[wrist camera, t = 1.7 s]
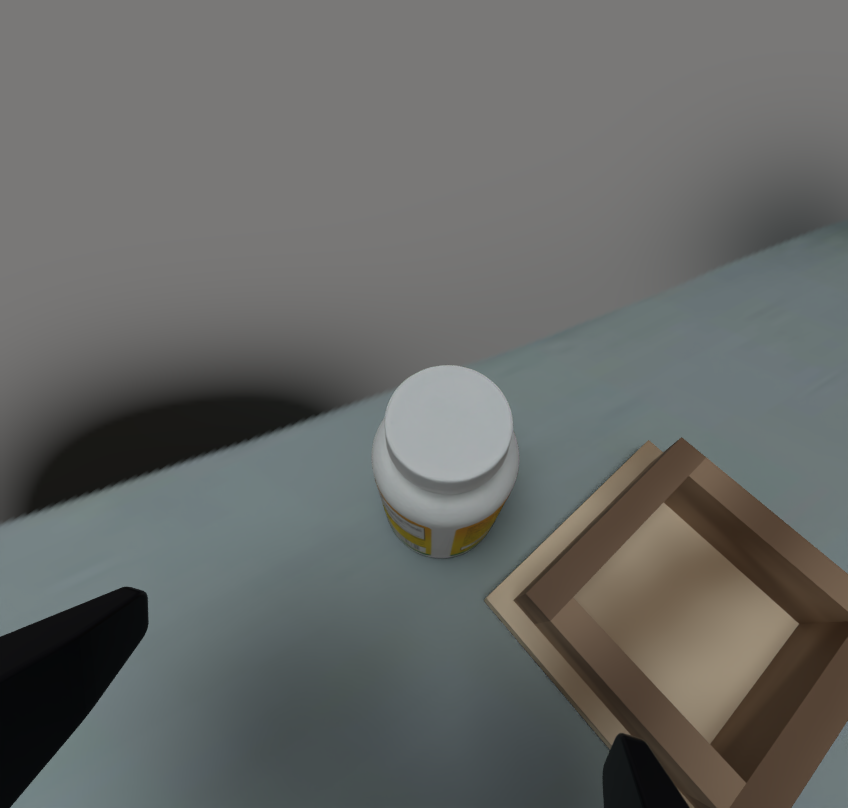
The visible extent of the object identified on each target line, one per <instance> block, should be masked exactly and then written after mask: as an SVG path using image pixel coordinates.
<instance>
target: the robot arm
mask: <svg viewBox="0 0 848 808" xmlns="http://www.w3.org/2000/svg"><path fill="white" fill-rule="evenodd" d="M147 628H148V597H147V594H146V592H144V591H142V590H139V589H135V588H132V587H122V588H119V589H117V590H115V591H112V592H110V593H107V594H105V595H102V596H100V597H97V598H95V599H92V600H90V601H87V602H85V603H82V604H80V605H78V606H75V607H73V608H70V609H68V610H65V611H63V612H60V613H58V614H55V615H53V616H50V617H48V618H46V619H43V620H41V621H38V622H36V623H33V624H31V625H28V626H26V627H23V628H21V629H18V630H16V631H14V632H11V633H9V634H6V635H4V636H1V637H0V808H10V807H11V806H12V805H13V803H14V802H15V801H16V800H17V799H18V798H19V796H20V795H21V794H22V793H23V792H24V790H25V789H26V788H27V787H28V786H29V784H30V783H31V782H32V781H33V780H34V779H35V777H36V776H37V775H38V774H39V773H40V771H41V770H42V769H43V768H44V767H45V765H46V764H47V763H48V762H49V761H50V760H51V758H52V757H53V756H54V755H55V754H56V752H57V751H58V750H59V749H60V748H61V747H62V745H63V744H64V743H65V742H66V741H67V739H68V738H69V737H70V736H71V735H72V733H73V732H74V731H75V730H76V729H77V727H78V726H79V725H80V724H81V723H82V721H83V720H84V719H85V718H86V716H87V715H88V714H89V712H90V711H91V710H92V708H93V707H94V706H95V704H96V703H97V702H98V700H99V699H100V698H101V696H102V695H103V693H104V692H105V691H106V689H107V688H108V686H109V685H110V683H111V682H112V681H113V679H114V678H115V676H116V675H117V674H118V672H119V671H120V669H121V668H122V667H123V665H124V664H125V662H126V661H127V660H128V658H129V657H130V655H131V654H132V653H133V651H134V650H135V648H136V647H137V646H138V644H139V643H140V641H141V640H142V638H143V637H144V635H145V633H146V631H147ZM603 798H604V808H690V807H689V805H688V804H687V802H686V801H685V799H684V798H683V796H682V795H681V793H680V792H679V790H678V789H677V787H676V786H675V784H674V783H673V781H672V780H671V778H670V777H669V775H668V774H667V772H666V771H665V769H664V768H663V766H662V765H661V763H660V762H659V760H658V759H657V757H656V756H655V755H654V753H653V752H652V750H651V749H650V747H649V746H648V744H647V743H646V742H645V741H644V740H643V739H641V738H638V737H635V736H632V735H628V734H625V733H619V734H618V735H617V736H616V737H615V740H614V742H613V744H612V747H611V749H610V752H609V754H608V756H607V759H606V761H605V764H604V768H603Z"/></svg>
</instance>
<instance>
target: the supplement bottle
mask: <svg viewBox="0 0 848 808" xmlns="http://www.w3.org/2000/svg"><path fill="white" fill-rule="evenodd" d="M372 468H373V473H374V477H375V482H376V484H377V487H378V490H379V493H380V497H381V500H382V502H383V506H384V509H385V512H386V515H387V518H388V521H389V523H390V525H391V528H392V529H393V531H394V533H395V534H396V536H397V537H398V538H399V539H400V540H401V541H402V542H403V543H404V544H405V545H406V546H407V547H409V548H410V549H412V550H413V551H415V552H417V553H419V554H422V555H424V556H428V557H433V558H449V557H455V556H458V555H461V554H464V553H466V552H467V551H469V550H471V549H472V548H474V547H475V546H476V545H477V544H479V543H480V542H481V541H482V540H483V539H484V538H485V536H486V535H487V533H488V532H489V530H490V529H491V527H492V525H493V523H494V522H495V520H496V518H497V516H498V514H499V512H500V510H501V509H502V507H503V505H504V503H505V501H506V500H507V498H508V496H509V494H510V492H511V490H512V488H513V486H514V484H515V481H516V478H517V474H518V469H519V448H518V443H517V439H516V436H515V433H514V431H513V418H512V413H511V409H510V406H509V404H508V402H507V400H506V398H505V396H504V394H503V393H502V391H501V390H500V389H499V388H498V387H497V385H495V384H494V383H493V382H492V381H491V380H490V379H488V378H487V377H486V376H484V375H482V374H481V373H479V372H477V371H474V370H472V369H469V368H465V367H461V366H453V365H444V366H435V367H431V368H427V369H424V370H421V371H419V372H417V373H416V374H414V375H412V376H410V377H409V378H407V379H406V380H405V381H404V382H403V383H402V384H401V385H400V386H399V387H398V388H397V389H396V390H395V392H394V393H393V395H392V397H391V399H390V401H389V403H388V405H387V408H386V413H385V417H384V419H383V420H382V422H381V424H380V426H379V428H378V430H377V432H376V435H375V438H374V442H373V447H372Z"/></svg>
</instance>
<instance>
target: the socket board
mask: <svg viewBox="0 0 848 808" xmlns="http://www.w3.org/2000/svg"><path fill="white" fill-rule="evenodd" d="M484 601H485V603H486V604H487V605H488V606H489V607H490V609H491V610H492V611H493V612H494V613H495V614H496V616H497V617H498V618H499V619H500V620H501V622H502V623H503V624H504V625H505V626H506V627H507V629H508V630H509V631H510V632H511V633H512V635H513V636H514V637H515V638H516V639H517V640H518V642H519V643H520V644H521V645H522V646H523V648H524V649H525V650H526V651H527V652H528V653H529V655H530V656H531V657H532V658H533V659H534V661H535V662H536V663H537V664H538V665H539V666H540V668H541V669H542V670H543V671H544V672H545V674H546V675H547V676H548V677H549V678H550V680H551V681H552V682H553V683H554V684H555V685H556V687H557V688H558V689H559V690H560V691H561V693H562V694H563V695H564V696H565V697H566V698H567V700H568V701H569V702H570V703H571V704H572V706H573V707H574V708H575V709H576V710H577V711H578V713H579V714H580V715H581V716H582V717H583V719H584V720H585V721H586V722H587V723H588V724H589V726H590V727H591V728H592V729H593V730H594V732H595V733H596V734H597V735H598V736H599V737H600V739H601V740H602V741H603V742H604V743H605V745H606V746H607V747H608V748H609V749H611V747H612V744H613V742H614V740H615V737H616V736H617V735H618V734H619V733H625V734H628V735H632V736H635V737H638V738H641V739H643V740H644V741H645V742H646V743H647V744H648V746H649V747H650V749H651V750H652V752H653V753H654V755H655V756H656V757H657V759H658V760H659V762H660V763H661V765H662V766H663V768H664V769H665V771H666V772H667V774H668V775H669V777H670V778H671V780H672V781H673V783H674V784H675V786H676V787H677V789H678V790H679V792H680V793H681V795H682V796H683V798H684V799H685V801H686V802H687V804H688V805H689V807H690V808H792V806H793V804H794V803H795V801H796V800H797V798H798V797H799V795H800V794H801V792H802V790H803V789H804V787H805V786H806V784H807V783H808V781H809V780H810V778H811V777H812V775H813V773H814V772H815V770H816V769H817V767H818V766H819V764H820V763H821V761H822V759H823V758H824V756H825V755H826V753H827V752H828V750H829V749H830V747H831V746H832V744H833V742H834V741H835V739H836V738H837V736H838V735H839V733H840V732H841V730H842V729H843V727H844V725H845V724H846V722H847V721H848V574H847V573H846V572H845V571H843V570H842V569H841V568H840V567H839V566H837V565H836V564H835V563H834V562H833V561H831V560H830V559H829V558H828V557H826V556H825V555H824V554H823V553H822V552H820V551H819V550H818V549H817V548H816V547H814V546H813V545H812V544H811V543H809V542H808V541H807V540H806V539H805V538H803V537H802V536H801V535H800V534H799V533H797V532H796V531H795V530H794V529H792V528H791V527H790V526H789V525H788V524H786V523H785V522H784V521H783V520H782V519H780V518H779V517H778V516H777V515H775V514H774V513H773V512H772V511H771V510H769V509H768V508H767V507H766V506H764V505H763V504H762V503H761V502H760V501H758V500H757V499H756V498H755V497H754V496H752V495H751V494H750V493H749V492H747V491H746V490H745V489H744V488H743V487H741V486H740V485H739V484H738V483H737V482H735V481H734V480H733V479H732V478H730V477H729V476H728V475H727V474H726V473H724V472H723V471H722V470H721V469H720V468H718V467H717V466H716V465H715V464H713V463H712V462H711V461H710V460H709V459H707V458H706V457H705V456H704V455H703V454H701V453H700V452H699V451H698V450H696V449H695V448H694V447H693V446H692V445H690V444H689V443H688V442H687V441H686V440H684V439H683V438H682V437H681V438H680V439H679V440H678V441H677V442H675V443H674V444H673V445H672V446H670V447H669V448H668V449H667V450H666V451H664V452H662V451H661V450H660V449H658V448H657V447H656V446H655V445H654V444H653V443H651V442H650V441H649V440H648V441H647V442H646V443H645V444H644V445H643V446H642V447H641V448H640V449H639V450H638V451H637V452H636V453H635V454H633V455H632V456H631V457H630V458H629V459H628V460H627V461H626V462H625V463H624V464H623V465H622V466H621V467H620V468H619V469H618V470H617V471H616V472H615V473H614V474H613V475H612V476H611V477H610V478H609V479H608V480H607V481H606V482H605V483H604V484H603V485H602V486H601V487H600V488H599V489H597V490H596V491H595V492H594V493H593V494H592V495H591V496H590V497H589V498H588V499H587V500H586V501H585V502H584V503H583V504H582V505H581V506H580V507H579V508H578V509H577V510H576V511H575V512H574V513H573V514H572V515H571V516H570V517H569V518H568V519H567V520H566V521H565V522H564V523H563V524H561V525H560V526H559V527H558V528H557V529H556V530H555V531H554V532H553V533H552V534H551V535H550V536H549V537H548V538H547V539H546V540H545V541H544V542H543V543H542V544H541V545H540V546H539V547H538V548H537V549H536V550H535V551H534V552H533V553H532V554H531V555H530V556H529V557H528V558H527V559H525V560H524V561H523V562H522V563H521V564H520V565H519V566H518V567H517V568H516V569H515V570H514V571H513V572H512V573H511V574H510V575H509V576H508V577H507V578H506V579H505V580H504V581H503V582H502V583H501V584H500V585H499V586H498V587H497V588H496V589H495V590H494V591H493V592H492V593H491V594H489V595H488V596H487V597H486V598H485V599H484Z"/></svg>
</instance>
